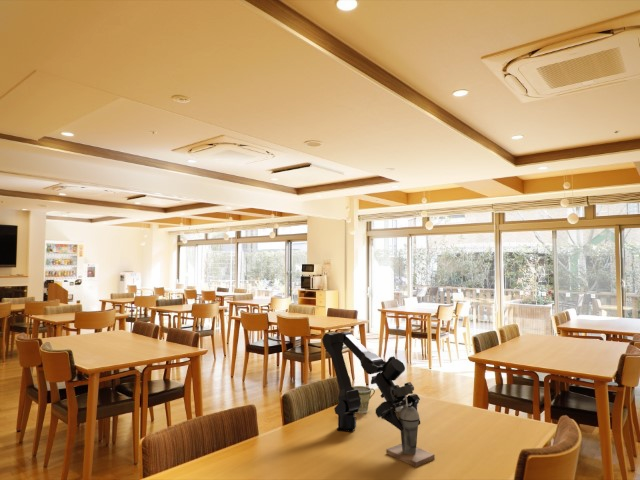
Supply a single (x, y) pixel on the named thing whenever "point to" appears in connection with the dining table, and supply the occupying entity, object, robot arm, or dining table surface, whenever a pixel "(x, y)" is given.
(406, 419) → the beverage cup
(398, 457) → the walnut board
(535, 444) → the dining table surface
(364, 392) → the ceramic cup
